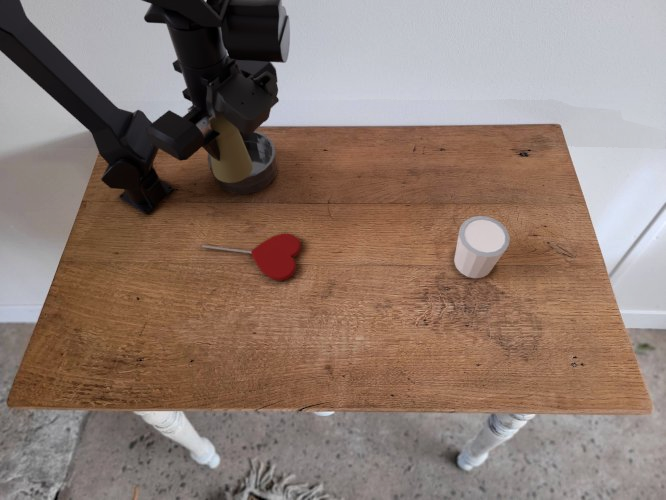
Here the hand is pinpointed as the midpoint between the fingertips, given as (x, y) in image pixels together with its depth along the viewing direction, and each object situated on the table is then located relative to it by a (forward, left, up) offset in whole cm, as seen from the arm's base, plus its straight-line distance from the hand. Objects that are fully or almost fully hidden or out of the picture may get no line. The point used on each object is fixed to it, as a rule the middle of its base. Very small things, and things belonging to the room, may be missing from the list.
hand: (228, 149), depth 69 cm
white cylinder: (+37, +10, -12) cm, 40 cm away
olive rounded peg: (0, 0, -4) cm, 4 cm away
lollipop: (+8, -7, -12) cm, 16 cm away
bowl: (-4, +5, -12) cm, 14 cm away
